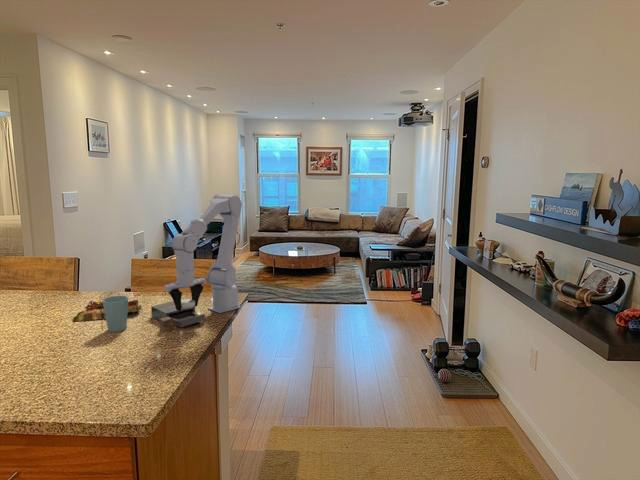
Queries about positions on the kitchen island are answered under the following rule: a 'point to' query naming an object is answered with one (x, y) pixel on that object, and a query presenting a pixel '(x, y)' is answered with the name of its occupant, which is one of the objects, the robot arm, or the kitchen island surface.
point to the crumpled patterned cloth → (102, 311)
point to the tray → (187, 318)
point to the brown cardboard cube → (166, 324)
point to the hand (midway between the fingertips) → (186, 307)
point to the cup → (116, 312)
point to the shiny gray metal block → (167, 310)
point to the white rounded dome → (187, 303)
